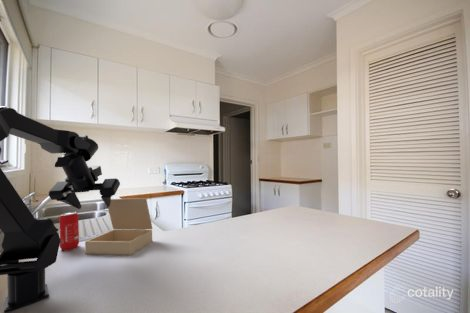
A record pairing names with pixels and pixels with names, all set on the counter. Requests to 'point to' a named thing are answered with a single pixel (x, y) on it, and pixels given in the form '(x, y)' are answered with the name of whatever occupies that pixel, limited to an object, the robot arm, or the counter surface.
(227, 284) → the counter surface
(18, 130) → the robot arm
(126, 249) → the mailer box
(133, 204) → the mailer lid
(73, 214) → the beverage can
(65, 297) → the counter surface
